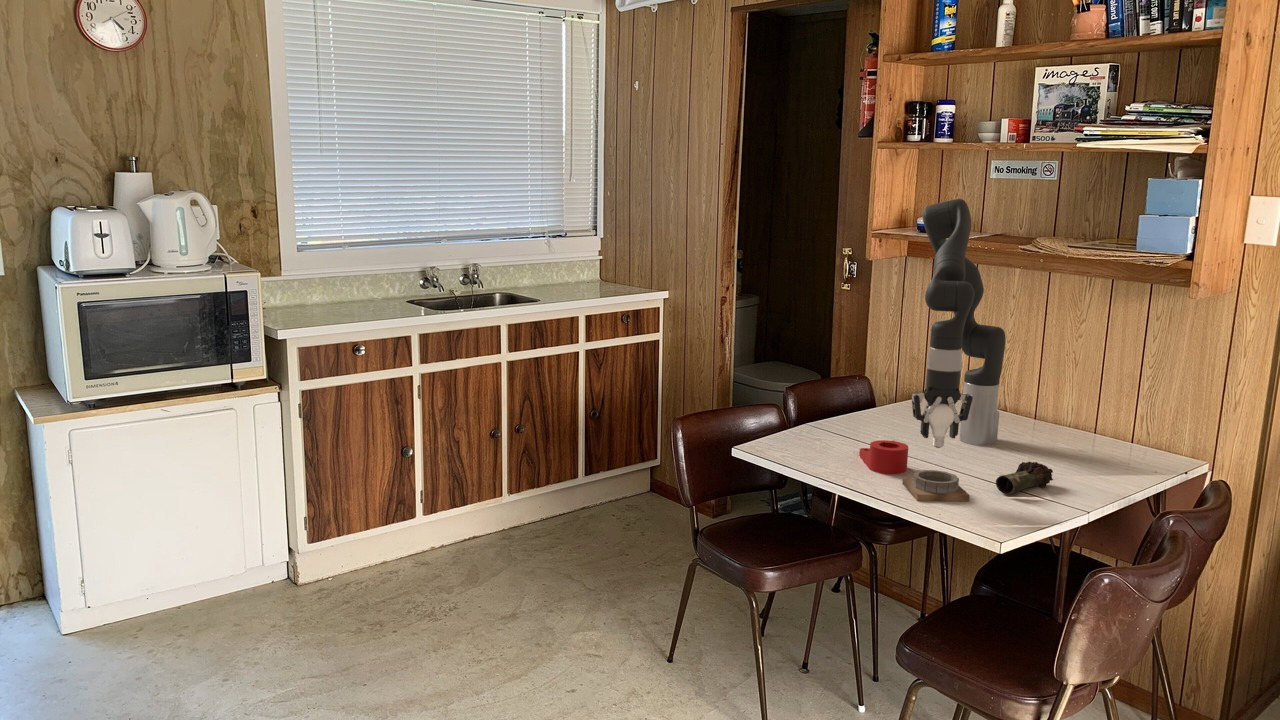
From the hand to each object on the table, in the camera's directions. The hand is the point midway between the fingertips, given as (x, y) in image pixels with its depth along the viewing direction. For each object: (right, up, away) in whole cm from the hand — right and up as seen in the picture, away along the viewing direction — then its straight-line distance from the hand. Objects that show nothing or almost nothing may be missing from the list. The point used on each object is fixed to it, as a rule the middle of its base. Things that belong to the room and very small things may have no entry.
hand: (938, 437), depth 226 cm
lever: (-8, -10, +24) cm, 27 cm away
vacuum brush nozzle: (+18, -16, +3) cm, 24 cm away
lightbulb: (0, -3, 0) cm, 3 cm away
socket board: (0, -13, +2) cm, 14 cm away
